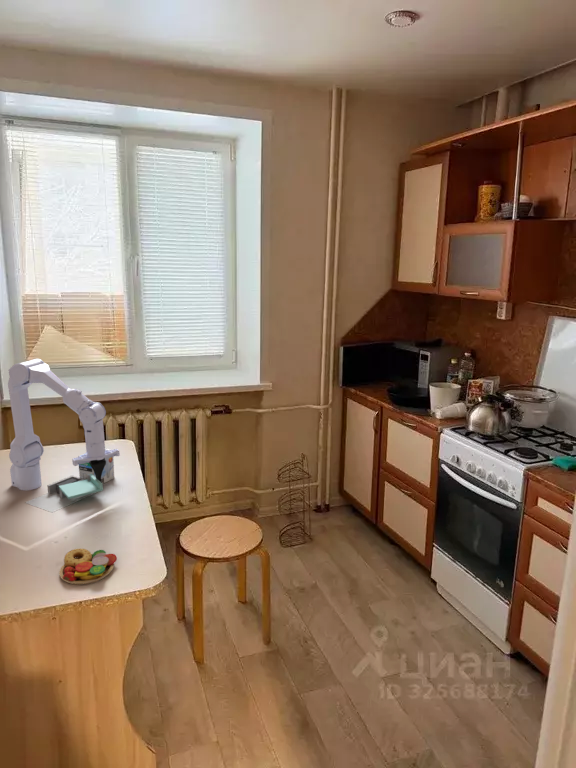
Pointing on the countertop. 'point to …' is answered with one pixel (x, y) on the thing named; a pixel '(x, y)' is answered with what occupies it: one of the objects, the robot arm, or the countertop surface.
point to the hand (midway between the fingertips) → (98, 481)
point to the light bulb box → (106, 474)
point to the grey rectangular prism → (65, 483)
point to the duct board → (55, 497)
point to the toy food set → (86, 566)
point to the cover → (82, 487)
